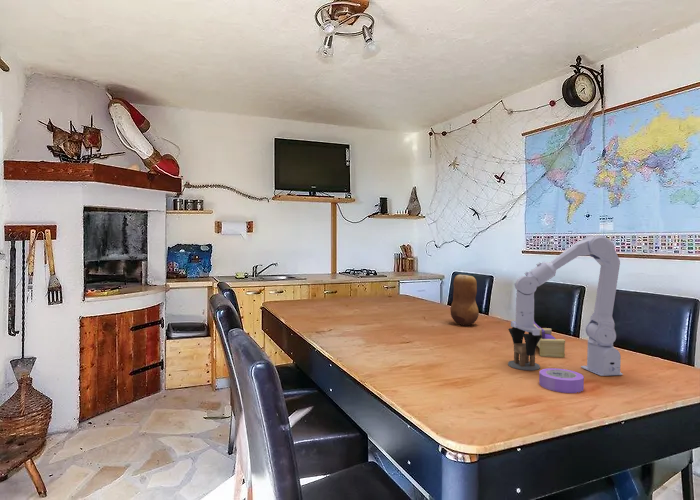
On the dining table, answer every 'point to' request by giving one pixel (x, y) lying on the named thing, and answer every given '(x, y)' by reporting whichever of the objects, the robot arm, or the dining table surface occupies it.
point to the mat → (527, 367)
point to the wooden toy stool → (523, 355)
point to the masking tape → (561, 380)
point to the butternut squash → (464, 300)
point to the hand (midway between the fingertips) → (524, 352)
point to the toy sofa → (550, 344)
